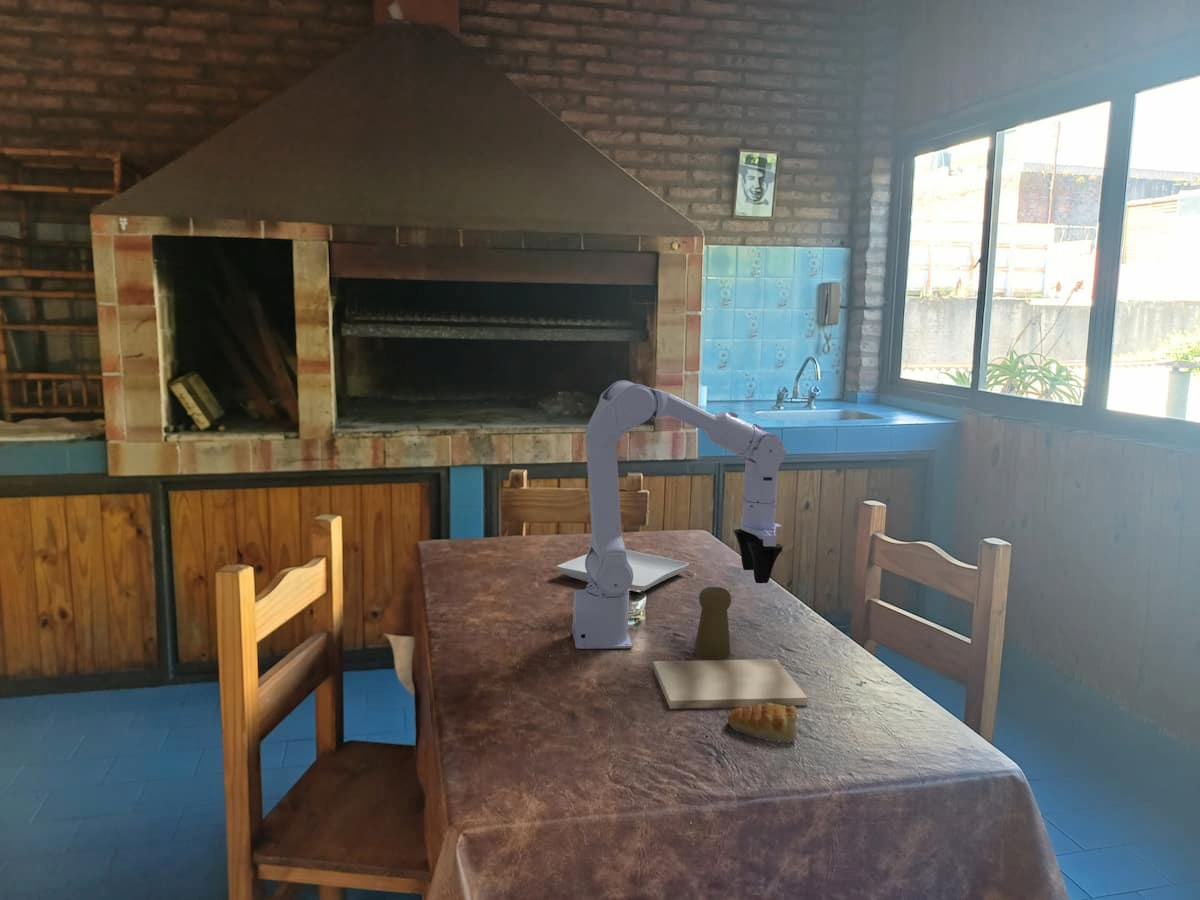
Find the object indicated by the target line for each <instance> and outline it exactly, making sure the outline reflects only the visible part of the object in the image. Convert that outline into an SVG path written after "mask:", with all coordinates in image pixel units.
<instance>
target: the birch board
mask: <svg viewBox="0 0 1200 900" xmlns="http://www.w3.org/2000/svg"><path fill="white" fill-rule="evenodd" d="M652 664H653V665H652V669H653V672H654V674H655V676H656V679H657V681H658V684H659V686H660V689H661V690H662V693H663V695H664V698H665V700H666V703H667V706H668V707H669V709H670V710H672V709H673V710H674V709H709V708H710V709H711V708H713V709H715V708H740V707H745V706H747V705H751V706H755V705H758V704H760V705H763V704H765V703H772V704H779V705H782V706H786V707H790V706H791V705H793V706H794V707H797V706H798V707H799V706H808V696H807V695H806V694H805V692H804V691H803V690H802V689H801V688H800V686H799V685H798V684H797V682H796V680H794V679H793V678H792V676H791V675H790V674H789V672H787V670H786V668H784V666H783V665H782V664H781V662H780V661H779V660H778V658H774V659H773V658H771V659H769V658H767V659H765V658H763V659H762V658H761V659H760V658H759V659H723V660H709V659H704V660H702V659H701V660H655V661H653V662H652Z"/></svg>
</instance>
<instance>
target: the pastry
mask: <svg viewBox="0 0 1200 900" xmlns="http://www.w3.org/2000/svg"><path fill="white" fill-rule="evenodd" d="M797 714H798V710H797V707H796V706H793V705H791V706H782V705H779V704H772V703H765V704H763V705H760V704H758V705H755V706H751V705H747V706H745V707H734V709H733V710H731V711H730V713H729V714H728V716H727V723H728V724H729V726H730V727H731V729H732V730H734V731H736V732H737V733H742V734H745V735H747V736H750V737H753V738H754V737H755V739H757V738H759V739H758V740H765V739H768V740H767V741H771V740H774V741H773V742H776V741H780V742H779V743H783V742H793V743H795V741H796V740H797V738H798V737H797V736H798V728H799V721H798V715H797ZM760 738H762V739H760Z"/></svg>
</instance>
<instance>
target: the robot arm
mask: <svg viewBox="0 0 1200 900" xmlns="http://www.w3.org/2000/svg"><path fill="white" fill-rule="evenodd" d="M667 416H668V417H671V418H673V419H675V420H678V421H680V422H683V423H685V424H687V425H690V426H691V427H694V428H697V429H698V430H701V431H704V432H705V435H706V438H707V440H708V442H709V443H710V444H713V445H715V446H717V447H720V448H722V449H724V450H726V451H728V452H730V453H733V454H735V455H737V456H739V457H742V458H743V459H745V462H744V463H745V464H744V479H743V493H742V495H743V496H742V515H741V519H740V520H741V521H740V526H739V527H740V528H739V529H734V530H733V532H734V533H733V534H734V535H735V538H736V540H737V542H738V546H739V551H740V552H739V553H740V559H741V565H742V569H743V570H744V571H753V579H754V582H755V584H768V583H769V581H770V577H771V574H772V571H773V568H774V564H775V562H776V561H777V558H778V557H779V555H780V554H781V552H782V551H783V547H784V546H783V545H782V544H781V543H777V534H776V531H781V530H782V527H783V526H782V524H780V523H776V516H777V514H776V513H777V502H778V501H777V499H778V498H777V497H778V481H779V467H780V465H781V464H782V463H783V461H784V460H785V458H786V455H787V450H786V449H785V445H784V442H783V440H782V439H781V438H780V436H778V435H777V434H774V433H771V432H768V431H765V430H763V429H762V425H760V424H758V423H754V424H752V423H750V422H748V421H746V420H744V419H741V418H739V413H736V412H735V411H732V410H729V411H728V412H727V411H720V412H717V413H715V414H712V413H710V412H707V411H706V410H704V409H702V408H700V407H698V406H696V405H694V404H692V403H690V402H688V401H687V400H684V399H682V398H680V397H678V396H676V395H674V394H672V393H670V392H668V391H664V390H661V389H660V390H659V389H657V388H652V387H648V386H646V385H644V384H638V383H634V382H632V381H630V380H626V379H625V380H617V381H615V382H613V383H612V384H610V386H609V387H608V388H607V389H605V390H604V391H603V392H602V393H601V394H600V396H599V400H598V403H597V405H596V408H595V410H594V411H593V413H592V416H591V417H590V419H589V421H588V423H587V425H586V427H585V433H584V435H585V451H586V453H585V454H586V461H587V462H586V465H587V480H588V482H587V483H588V495H589V509H590V511H589V513H590V525H591V526H590V527H591V536H590V537H589V539H588V545H589V546H588V552H587V553H586V554H587V556H586V559H585V568H586V571H587V573H588V574H589V575H590V576H591V579H590V580H589V582H588V583H587V584H586V588H584V589H577V590H576V589H575V590H574V592H573V606H572V607H573V608H572V609H573V613H572V622H571V633H572V636H573V642H574V647H575V648H576V649H579V650H582V649H583V650H588V649H589V650H590V649H592V650H595V649H597V650H599V649H632V648H633V647H634V646H633V645H634V644H633V643H632V639H631V637H630V634H629V607H630V606H629V604H630V603H629V602H630V592H629V587H630V586H631V584H632V581H633V571H632V568H631V566H630V565H629V563H628V561H627V557H626V550H627V549H626V547H625V543H624V540H623V536H622V535H623V534H622V518H621V502H620V501H621V500H620V499H621V498H620V484H619V466H618V464H619V463H618V452H617V448H618V447H617V443H618V442H619V440H620V439H621V438H622V437H624V436H625V434H627V433H628V432H629V430H632V429H633V428H636V427H637V426H639V425H641V424H643V423H645V422H647V421H648V420H650V419H651V417H653V418H655V419H660V418H664V417H667Z"/></svg>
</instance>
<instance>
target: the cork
mask: <svg viewBox="0 0 1200 900" xmlns="http://www.w3.org/2000/svg"><path fill="white" fill-rule="evenodd" d="M698 600H699V605H700V606H701V613H700V617H699V622H698V623H699V624H698V629H697V635H696V638H695V646H694V650H693V652H694V654H695V655H696V656H697V657H699V658H701V659H704V660H728V659H729V658H730V657H731V654H732V653H731V643H730V641H731V640H730V639H731V638H730V629H729V620H728V619H729V617H728V610H729V608H730V607H731V604H732V596H731V593H730V591H728V590H727V588H723V587H720V586H719V587H718V586H708V587H705V588H703V589H702V590H701V591H700V593H699V595H698Z"/></svg>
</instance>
